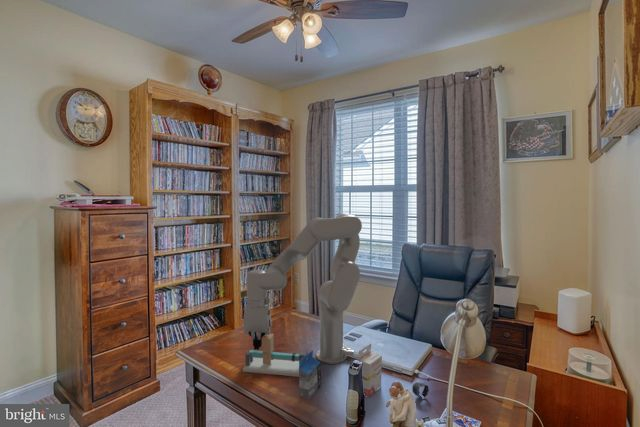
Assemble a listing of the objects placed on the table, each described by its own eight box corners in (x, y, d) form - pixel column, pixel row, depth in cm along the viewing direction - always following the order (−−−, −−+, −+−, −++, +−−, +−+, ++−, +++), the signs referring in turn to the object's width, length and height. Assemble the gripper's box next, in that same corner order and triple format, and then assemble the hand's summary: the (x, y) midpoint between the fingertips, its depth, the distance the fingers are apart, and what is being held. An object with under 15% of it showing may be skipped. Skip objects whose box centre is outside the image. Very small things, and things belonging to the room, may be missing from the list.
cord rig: (308, 364, 130) (308, 347, 129) (304, 377, 121) (304, 358, 120) (251, 359, 134) (251, 342, 133) (242, 371, 125) (242, 353, 124)
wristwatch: (412, 397, 109) (412, 382, 109) (425, 395, 110) (426, 380, 110) (416, 402, 106) (417, 387, 106) (430, 400, 107) (431, 385, 107)
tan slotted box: (273, 359, 130) (273, 333, 129) (270, 364, 125) (270, 338, 125) (266, 358, 130) (266, 333, 130) (262, 364, 126) (262, 338, 125)
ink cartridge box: (369, 399, 108) (369, 355, 107) (356, 393, 111) (357, 351, 110) (382, 387, 115) (382, 346, 114) (369, 382, 118) (370, 342, 117)
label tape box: (309, 400, 108) (309, 363, 107) (298, 396, 110) (298, 360, 109) (321, 386, 115) (322, 352, 115) (312, 383, 117) (312, 349, 117)
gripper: (278, 300, 130) (278, 345, 131) (242, 298, 132) (243, 342, 133) (272, 306, 122) (272, 354, 123) (234, 304, 125) (235, 351, 126)
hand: (257, 348), depth 128 cm, fingers closed
